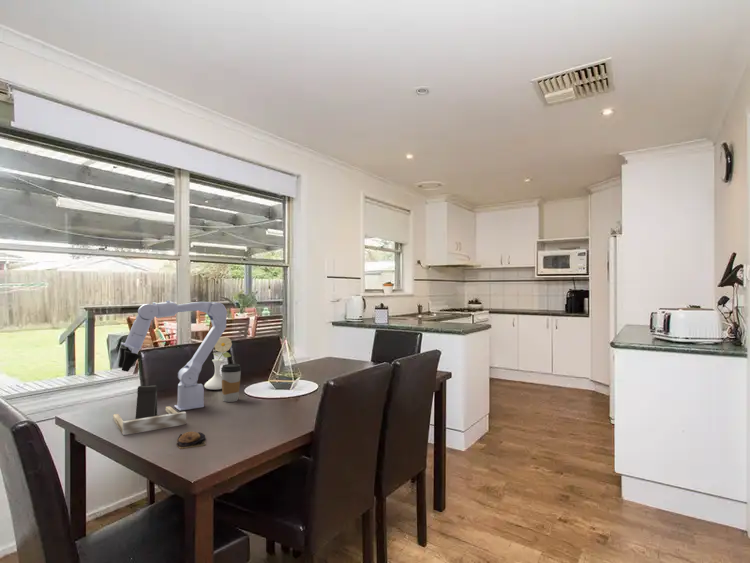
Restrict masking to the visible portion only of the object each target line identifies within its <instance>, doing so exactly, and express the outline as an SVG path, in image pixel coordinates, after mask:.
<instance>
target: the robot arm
mask: <svg viewBox="0 0 750 563" xmlns="http://www.w3.org/2000/svg"><path fill="white" fill-rule="evenodd" d="M226 308H227V307H225V305H224V304H223V303H222V302H217V301H195V302H186V303H180V304H177V303H176V302H174V301H170V300H165V302H164V301H163V302H156V301H153V302H152V304H151V303H144V304H141V306H140V307H139V308H138V309H137V315H136V316H135V319H134V320H133V323H132V326H131V328H130V331H129V332H128V335H127V337H126V340H125V342H120V345H122V346H124V347H119V349H120V350H119V351H120V355H119V361H118V367H119V368H121V371H122V372H129V371H130V370H131V369H132V367H133V365H134V364H135V362H136V361H137V360H138V359H140V358H141V357H142V355H141V354H139V351H140V350H142V346H143V344H144V341H145V339H146V337H147V335H148V332H149V329H150V327H151V324H152V321H153V319H155V318H157V319H159V318H166V317H167V318H168V317H169V318H170V317H175V316H176V315H177V314H178V313H185V312H186V313H187V312H198V311H199V312H203V313H206V315H207V316H208V317H209V319H210V323H211V325H212V327H211V328H210V329H209V331H208V333H207V334H206V336H205V337H204V338H203V340H202V342H201V344H200V345H199V346H198V348H197V350H195V353H194V354H193V356H192V357H191V359H190V360H189V361H188V362H186V364H185V365H184V366H183V367H182V368H180V369H179V370H178V372H177V378H178V380H179V383H178V384H177V403H176V404H174V406H173V407H174V408H176V410H178V411H181V412H182V411H186V410H193V409H194V410H195V409H200V408H204V407H205V405H204V404H205V402H204V401H205V399H204V398H205V390H204V389H205V387H204V385H203V384H202V383H198V380H199V376H200V373H201V371H202V369H203V368H202V367H203V365H204V363H205V362H206V360H207V359H208V357H209V356H210V354H211V352H212V351H213V349H215V347H214V346H215V344H216V343H217V341H218V340H219V339H220V337H221V338H222V335H223V333H224V332H225V330H226V329H227V315H228V310H227V309H226Z"/></svg>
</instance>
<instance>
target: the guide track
mask: <svg viewBox="0 0 750 563" xmlns="http://www.w3.org/2000/svg"><path fill="white" fill-rule="evenodd" d="M165 412H166V414H161V415H157V416H153V417H147V418H140V419H129V420H123V418H122V417H121V415H120V413H114V414H113V415H112V417H113V418H112V419H113V421H114V422H115V424H116V426H117V427H118V429H119V430H120V432H121V434H122V435H123V436H127V435H132V434H137V433H143V432H150V431H155V430H161V429H167V428H173V427H178V426H183V425H186V424H187V412H186V411H181V412H177V410H175V409H174V408H173V407H172V406H165Z"/></svg>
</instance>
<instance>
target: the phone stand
mask: <svg viewBox="0 0 750 563" xmlns="http://www.w3.org/2000/svg"><path fill="white" fill-rule="evenodd" d="M135 407H136V408H135V410H136V411H135V417H134V418H135V419H140V418H147V417H153V416H158V385H157V384H154V385H152V384H150V385H138V386H137V398H136V406H135Z"/></svg>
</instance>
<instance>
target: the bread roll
mask: <svg viewBox="0 0 750 563" xmlns="http://www.w3.org/2000/svg"><path fill="white" fill-rule="evenodd" d="M176 441H177V442H176V446H177V447H178V449H179V450H184V449H191V448H197V447H198V448H199V447H204V446H206V435H205V434H204V433H202V432H200V431H199V432H196V431H187V432H184V433H180V434H179V436H178V437H177V440H176Z"/></svg>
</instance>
